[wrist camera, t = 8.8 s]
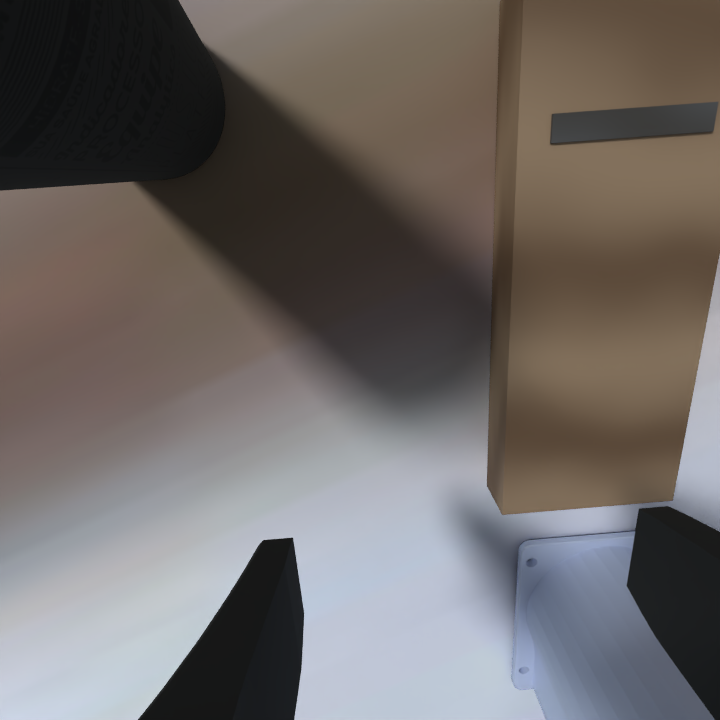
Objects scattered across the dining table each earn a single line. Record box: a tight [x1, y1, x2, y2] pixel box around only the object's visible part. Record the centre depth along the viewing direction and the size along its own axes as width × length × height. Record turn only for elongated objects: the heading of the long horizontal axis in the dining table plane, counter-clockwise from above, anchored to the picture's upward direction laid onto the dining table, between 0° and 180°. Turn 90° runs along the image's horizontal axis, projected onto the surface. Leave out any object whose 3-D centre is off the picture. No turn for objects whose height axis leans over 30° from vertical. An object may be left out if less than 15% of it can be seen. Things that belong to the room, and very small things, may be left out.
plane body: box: [487, 0, 720, 515], centre depth 16 cm, size 18×7×2 cm, turn 4°
